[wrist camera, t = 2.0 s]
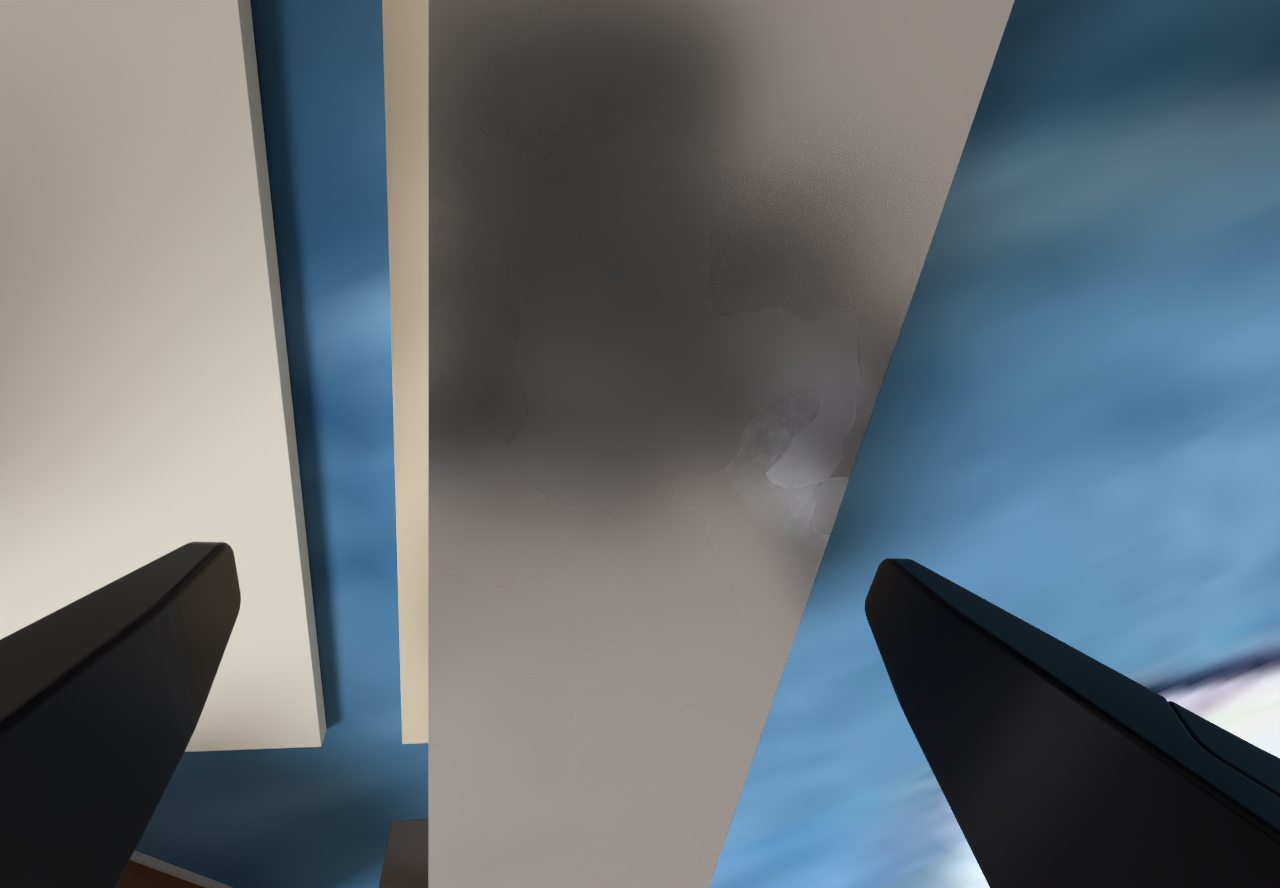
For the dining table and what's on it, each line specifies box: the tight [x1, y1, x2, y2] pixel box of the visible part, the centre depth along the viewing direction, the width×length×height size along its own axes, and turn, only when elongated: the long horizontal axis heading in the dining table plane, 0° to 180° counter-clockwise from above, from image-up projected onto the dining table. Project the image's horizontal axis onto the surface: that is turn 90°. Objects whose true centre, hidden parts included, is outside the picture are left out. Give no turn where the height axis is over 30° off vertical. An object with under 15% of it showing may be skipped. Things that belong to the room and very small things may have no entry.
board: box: [0, 0, 327, 752], centre depth 13 cm, size 9×26×1 cm, turn 171°
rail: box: [428, 0, 1015, 888], centre depth 9 cm, size 4×23×4 cm, turn 171°
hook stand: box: [379, 0, 429, 888], centre depth 12 cm, size 8×25×9 cm, turn 171°
